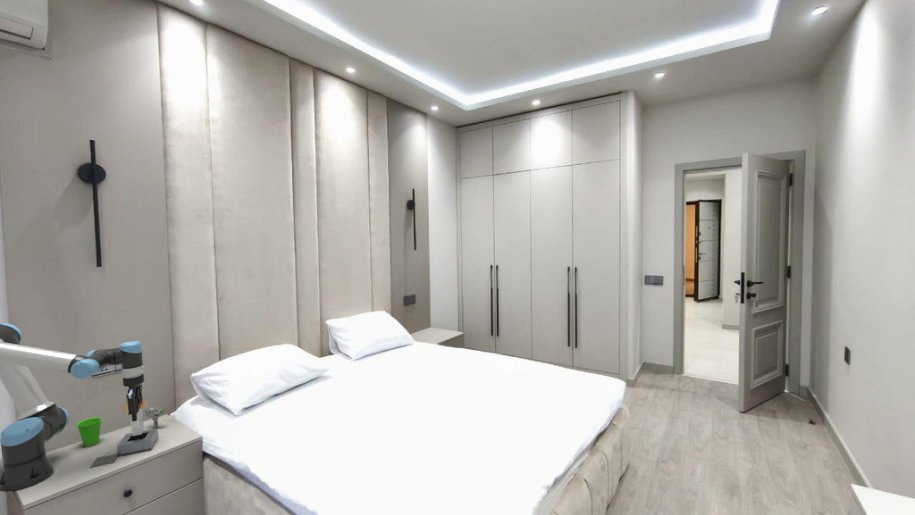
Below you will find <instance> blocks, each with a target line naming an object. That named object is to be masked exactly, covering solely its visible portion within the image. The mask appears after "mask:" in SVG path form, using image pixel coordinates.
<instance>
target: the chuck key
mask: <svg viewBox="0 0 915 515" xmlns="http://www.w3.org/2000/svg"><path fill="white" fill-rule="evenodd" d="M137 408H138V412H139V424H140V426H139V427H135V428H132V425H131V424H130V425H131V426H130V428H131V433H132V436H136V435H141V434H142V433H143V432H144V431H145V430H144V429H145V426H144V416H143V409H146V408H148V401H143V402H140V403H137ZM123 412H128V404H125V405H124V406H123ZM129 416H130V418H131V415H129Z"/></svg>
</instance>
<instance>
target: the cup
mask: <svg viewBox="0 0 915 515" xmlns="http://www.w3.org/2000/svg"><path fill="white" fill-rule="evenodd" d="M102 420H103V418H102V417H100V416H96V417H90V418H86V419H83V420H81V421H78V422H77V423H76V427H77V428H78V432H79V435H80V437H81V438H80V439H81V440H82V444H83V446H84V447H85V446H88V447H92V446H95V445H97V444H98V443H99V441H100V434H101V433H100V432H101V426H102V425H101V424H102Z"/></svg>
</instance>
